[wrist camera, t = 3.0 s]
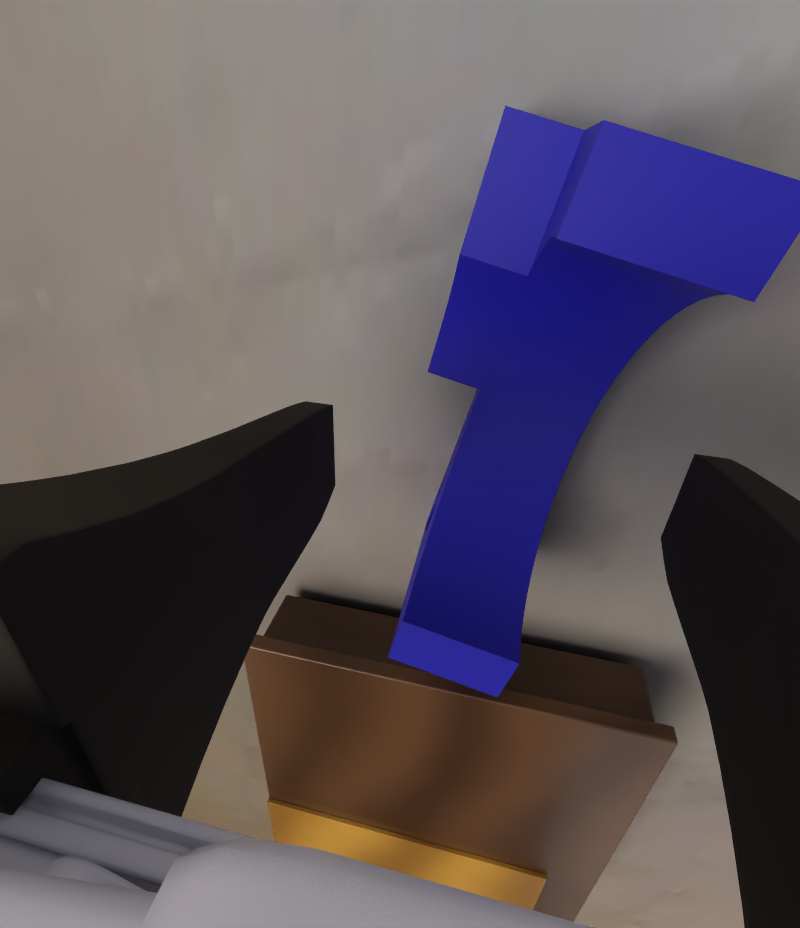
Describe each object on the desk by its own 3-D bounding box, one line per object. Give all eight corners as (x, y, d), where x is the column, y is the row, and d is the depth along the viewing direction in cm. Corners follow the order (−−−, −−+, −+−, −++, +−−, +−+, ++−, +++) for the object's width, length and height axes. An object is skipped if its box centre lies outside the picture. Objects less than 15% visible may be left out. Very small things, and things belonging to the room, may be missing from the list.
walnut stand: (656, 651, 19) (680, 749, 16) (561, 854, 28) (565, 943, 25) (281, 576, 22) (238, 649, 18) (304, 785, 30) (277, 858, 27)
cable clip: (511, 117, 12) (495, 86, 7) (699, 175, 12) (827, 189, 7) (388, 506, 18) (334, 637, 13) (507, 548, 18) (497, 697, 13)
